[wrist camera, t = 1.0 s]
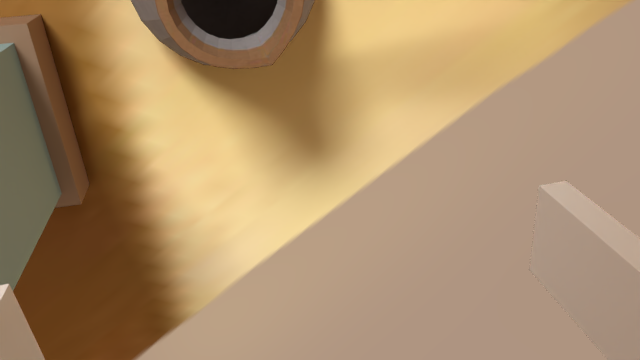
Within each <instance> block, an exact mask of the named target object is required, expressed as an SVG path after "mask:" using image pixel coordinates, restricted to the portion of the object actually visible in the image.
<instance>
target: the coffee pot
mask: <svg viewBox="0 0 640 360" xmlns="http://www.w3.org/2000/svg"><path fill="white" fill-rule="evenodd" d="M314 1H315V0H131V2H132V4H133V5H134V7H135V9H136V11H137V13H138V15H139V17H140V19H141V21H142V22H143V23H144V24H145V25H146V26H147V27H148V29H149V30H150V31H151V32H152V33H153V34H154V35H155V36H156V38H157V39H158V40H159V41H160V42H162V43H163V44H165V45H166V46H167V47H169V48H170V49H172V50H173V51H175V52H176V53H178V54H179V55H180V56H183V57H185V58H188V59H191V60H193V61H196V62H199V63H201V64H204V65H212V66H215V67H223V68H232V69H238V68H256V67H262V66H268V65H273V63H274V62H275V61H276V60H277V58H278V57H279V56H280V54H281V53H282V52H283V51H284V49H285V48H286V46H287V44H288V43H289V42H290V41H291V40H292V39H293V38H294V36H295V35H296V34H297V32H298V31H299V30H300V28H301V27H302V26H303V24H304V23H305V22H306V20H307V17H308V15H309V13H310V10H311V8H312V6H313V3H314Z"/></svg>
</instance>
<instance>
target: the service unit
mask: <svg viewBox="0 0 640 360" xmlns="http://www.w3.org/2000/svg"><path fill="white" fill-rule="evenodd" d="M89 185H90V184H89V180H88V177H87V173H86V170H85V166H84V163H83V159H82V156H81V152H80V149H79V146H78V142H77V139H76V135H75V132H74V128H73V125H72V121H71V118H70V114H69V111H68V107H67V104H66V100H65V97H64V94H63V90H62V87H61V83H60V80H59V76H58V73H57V69H56V66H55V62H54V59H53V55H52V52H51V48H50V45H49V42H48V38H47V35H46V31H45V28H44V24H43V21H42V17H41V14H40V15H28V16H17V17H5V18H0V285H4V284H9V285H10V287H11V289H12V291H13V290H14V288H15V286H16V284H17V282H18V280H19V278H20V276H21V274H22V272H23V270H24V268H25V266H26V264H27V262H28V260H29V258H30V256H31V254H32V252H33V250H34V248H35V246H36V244H37V242H38V240H39V238H40V236H41V234H42V232H43V230H44V228H45V226H46V224H47V222H48V220H49V218H50V216H51V214H52V212H53V210H54V208H58V207H65V206H72V205H80V204H82V201H83V199H84V197H85V194H86V192H87V189H88V187H89Z"/></svg>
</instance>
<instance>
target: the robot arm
mask: <svg viewBox="0 0 640 360" xmlns="http://www.w3.org/2000/svg"><path fill="white" fill-rule="evenodd" d="M529 270H530V271H531V273H532V274H533V275H534V276H535V277H536V278H537V279H538V281H539V282H540V283H541V284H542V285H543V286H544V287H545V289H546V290H547V291H548V292H549V293H550V294H551V295H552V297H553V298H554V299H555V300H556V301H557V302H558V304H560V306H561V307H562V308H563V309H564V310H565V312H566V313H567V314H568V315H569V316H570V317H571V318H572V320H573V321H574V322H575V323H576V324H577V325H578V326H579V328H580V329H581V330H582V331H583V332H584V333H585V334H586V336H588V338H589V339H590V340H591V341H592V342H593V344H594V345H595V346H596V347H597V348H598V349H599V350H600V352H601V353H602V354H603V355H604V356H605V357H606V358H607V359H608V360H640V238H639V237H638V236H637V235H635V234H634V233H633V232H632V231H630V230H629V229H628V228H626V227H625V226H624V225H622V224H621V223H620V222H619V221H617V220H616V219H615V218H613V217H612V216H611V215H610V214H608V213H607V212H606V211H605V210H603V209H602V208H601V207H599V206H598V205H597V204H596V203H594V202H593V201H592V200H590V199H589V198H588V197H587V196H585V195H584V194H583V193H582V192H580V191H579V190H578V189H576V188H575V187H574V186H573V185H571V184H570V183H569V182H567V181H562V182H556V183H550V184H545V185H540V186H539V190H538V198H537V207H536V215H535V224H534V233H533V241H532V250H531V259H530V267H529ZM0 360H45V358H44V356H43V354H42V352H41V350H40V348H39V346H38V344H37V341H36V339H35V337H34V335H33V333H32V331H31V329H30V327H29V325H28V322H27V320H26V318H25V316H24V314H23V312H22V310H21V308H20V306H19V303H18V301H17V299H16V297H15V295H14V293H13V291H12V289H11V287H10V285H9V284H4V285H0Z"/></svg>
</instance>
